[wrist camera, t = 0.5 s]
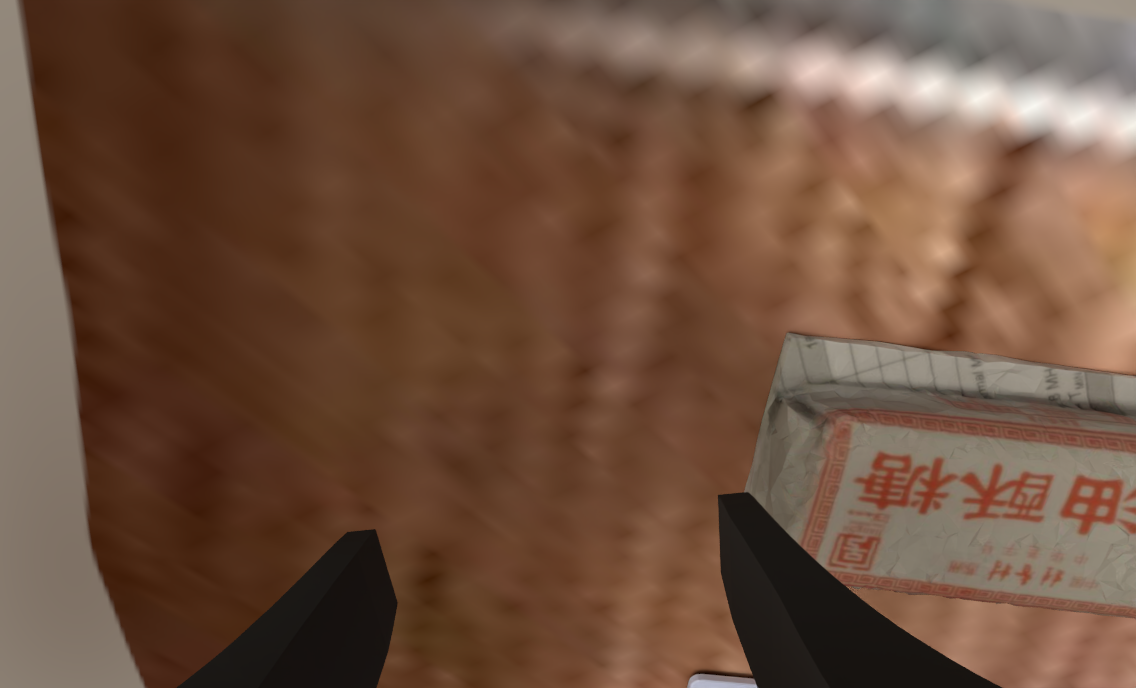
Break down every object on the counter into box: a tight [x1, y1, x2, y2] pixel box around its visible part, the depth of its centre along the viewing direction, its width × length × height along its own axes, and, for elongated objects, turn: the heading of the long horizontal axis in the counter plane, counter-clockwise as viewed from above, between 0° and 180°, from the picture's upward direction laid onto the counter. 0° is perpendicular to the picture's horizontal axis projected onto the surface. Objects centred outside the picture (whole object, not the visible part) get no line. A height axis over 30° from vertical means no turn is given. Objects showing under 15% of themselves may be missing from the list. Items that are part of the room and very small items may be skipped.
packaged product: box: [744, 333, 1136, 618], centre depth 23 cm, size 18×5×10 cm
